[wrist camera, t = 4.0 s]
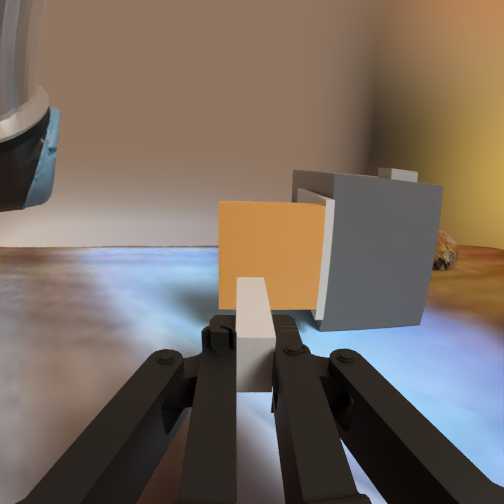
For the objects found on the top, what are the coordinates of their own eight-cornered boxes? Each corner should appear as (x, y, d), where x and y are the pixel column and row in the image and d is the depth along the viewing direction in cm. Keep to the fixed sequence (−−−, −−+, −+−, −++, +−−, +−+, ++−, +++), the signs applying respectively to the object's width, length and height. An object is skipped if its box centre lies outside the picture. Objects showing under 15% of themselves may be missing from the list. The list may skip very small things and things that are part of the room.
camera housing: (319, 331, 28) (335, 161, 24) (286, 261, 49) (291, 163, 45) (419, 324, 28) (443, 175, 24) (353, 262, 49) (361, 168, 45)
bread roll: (451, 281, 51) (456, 241, 52) (459, 272, 42) (464, 225, 43) (404, 272, 56) (411, 233, 57) (403, 262, 47) (410, 216, 48)
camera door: (219, 320, 25) (218, 196, 23) (224, 272, 37) (225, 186, 34) (323, 319, 26) (335, 200, 23) (298, 273, 37) (303, 188, 35)
